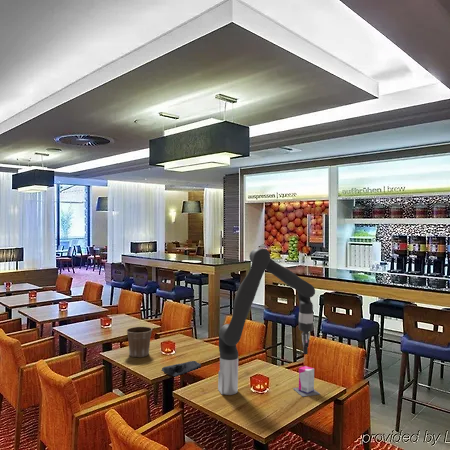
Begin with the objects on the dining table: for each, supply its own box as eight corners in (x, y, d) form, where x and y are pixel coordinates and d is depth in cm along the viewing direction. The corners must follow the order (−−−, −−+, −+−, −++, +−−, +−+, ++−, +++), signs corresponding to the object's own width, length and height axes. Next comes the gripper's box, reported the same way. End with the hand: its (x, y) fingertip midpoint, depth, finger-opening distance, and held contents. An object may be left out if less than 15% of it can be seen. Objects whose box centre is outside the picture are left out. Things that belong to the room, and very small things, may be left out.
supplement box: (314, 390, 206) (314, 368, 206) (307, 394, 202) (308, 371, 202) (304, 387, 210) (305, 365, 210) (298, 390, 206) (298, 368, 206)
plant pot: (120, 354, 259) (121, 329, 259) (141, 349, 271) (142, 325, 271) (135, 360, 248) (136, 334, 248) (156, 354, 260) (157, 329, 260)
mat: (302, 396, 200) (302, 396, 200) (292, 388, 209) (292, 388, 209) (320, 394, 203) (320, 393, 203) (309, 386, 212) (309, 386, 212)
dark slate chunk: (205, 369, 236) (205, 361, 236) (173, 378, 222) (173, 369, 222) (189, 362, 248) (189, 354, 248) (158, 370, 233) (158, 362, 233)
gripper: (298, 318, 222) (297, 349, 222) (299, 323, 209) (299, 357, 209) (311, 318, 221) (311, 350, 221) (314, 324, 208) (313, 358, 208)
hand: (305, 353), depth 215 cm, fingers closed
